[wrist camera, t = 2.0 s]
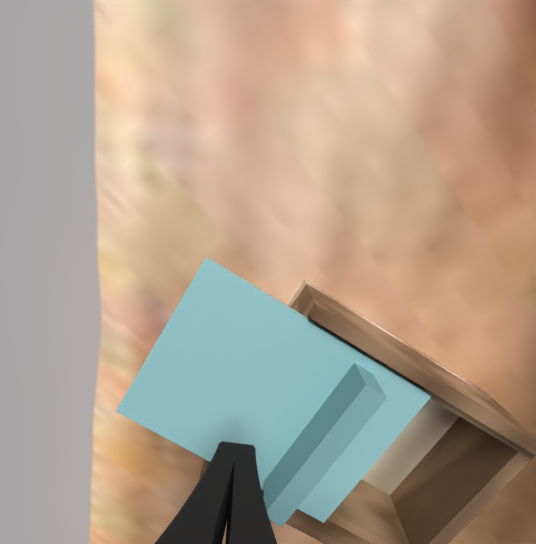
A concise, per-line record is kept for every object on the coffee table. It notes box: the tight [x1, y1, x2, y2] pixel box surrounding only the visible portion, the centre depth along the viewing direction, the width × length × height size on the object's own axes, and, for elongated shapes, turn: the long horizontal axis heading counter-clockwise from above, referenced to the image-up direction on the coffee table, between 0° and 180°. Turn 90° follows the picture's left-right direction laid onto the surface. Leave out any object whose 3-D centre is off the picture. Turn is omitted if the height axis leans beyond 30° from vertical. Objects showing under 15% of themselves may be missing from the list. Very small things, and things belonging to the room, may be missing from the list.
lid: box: [116, 257, 431, 526], centre depth 15 cm, size 14×10×3 cm
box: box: [200, 281, 536, 544], centre depth 19 cm, size 16×12×6 cm
